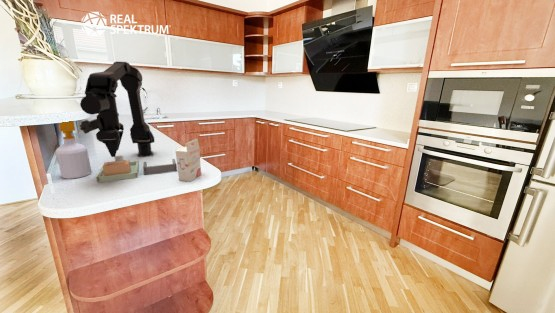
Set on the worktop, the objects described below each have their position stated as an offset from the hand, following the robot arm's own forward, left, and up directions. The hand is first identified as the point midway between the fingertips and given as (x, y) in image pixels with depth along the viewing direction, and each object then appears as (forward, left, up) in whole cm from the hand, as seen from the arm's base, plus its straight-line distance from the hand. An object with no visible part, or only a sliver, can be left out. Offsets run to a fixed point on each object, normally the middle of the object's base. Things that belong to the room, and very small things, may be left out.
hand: (115, 153), depth 91 cm
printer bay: (-2, +15, -9) cm, 17 cm away
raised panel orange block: (-3, 0, -9) cm, 9 cm away
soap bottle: (-8, -14, -9) cm, 19 cm away
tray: (-4, 0, -9) cm, 10 cm away
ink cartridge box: (+11, +25, -9) cm, 28 cm away
